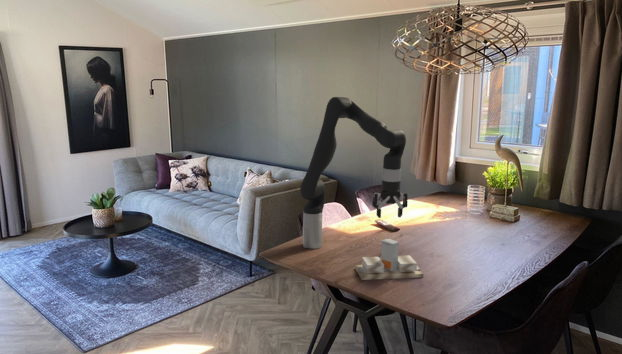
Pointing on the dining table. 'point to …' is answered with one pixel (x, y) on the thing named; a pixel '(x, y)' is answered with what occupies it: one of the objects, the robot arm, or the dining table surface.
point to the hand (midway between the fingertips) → (389, 217)
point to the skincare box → (390, 254)
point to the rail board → (376, 270)
